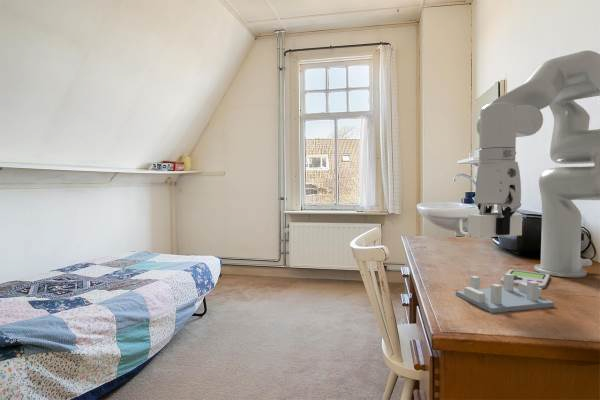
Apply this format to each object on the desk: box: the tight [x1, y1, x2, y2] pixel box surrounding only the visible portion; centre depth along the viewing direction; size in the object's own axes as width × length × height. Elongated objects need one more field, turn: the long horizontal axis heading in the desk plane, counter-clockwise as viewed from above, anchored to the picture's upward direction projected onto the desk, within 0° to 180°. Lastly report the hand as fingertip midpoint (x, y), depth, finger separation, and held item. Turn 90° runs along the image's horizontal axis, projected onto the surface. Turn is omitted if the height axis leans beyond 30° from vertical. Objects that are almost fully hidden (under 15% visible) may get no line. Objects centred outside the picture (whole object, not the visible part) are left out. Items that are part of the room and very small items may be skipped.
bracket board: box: [455, 272, 555, 314], centre depth 82 cm, size 16×12×5 cm
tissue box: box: [467, 211, 523, 239], centre depth 84 cm, size 12×4×6 cm, turn 105°
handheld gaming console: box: [499, 268, 551, 289], centre depth 98 cm, size 10×2×15 cm
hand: (494, 232), depth 84 cm, fingers closed on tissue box, 4 cm apart
